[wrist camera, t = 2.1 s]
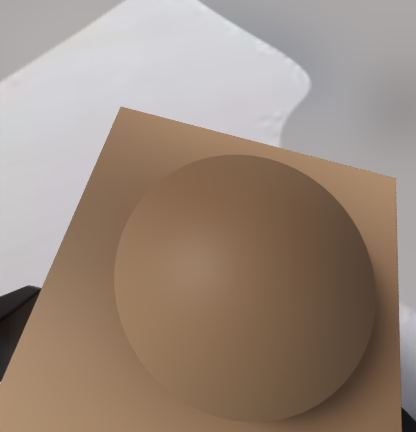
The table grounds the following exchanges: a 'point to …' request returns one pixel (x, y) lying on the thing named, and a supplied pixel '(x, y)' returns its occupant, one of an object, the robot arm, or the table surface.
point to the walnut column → (214, 294)
